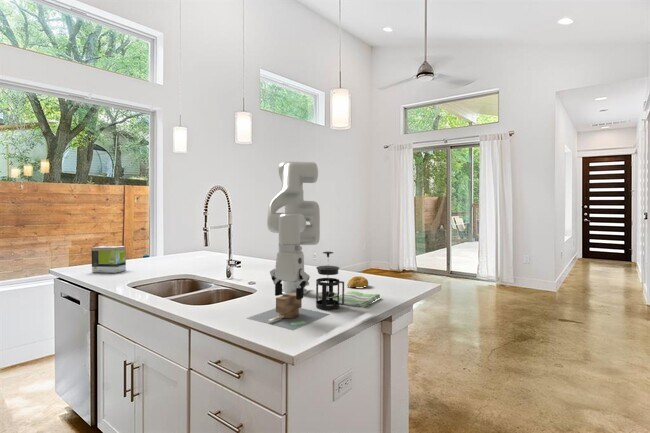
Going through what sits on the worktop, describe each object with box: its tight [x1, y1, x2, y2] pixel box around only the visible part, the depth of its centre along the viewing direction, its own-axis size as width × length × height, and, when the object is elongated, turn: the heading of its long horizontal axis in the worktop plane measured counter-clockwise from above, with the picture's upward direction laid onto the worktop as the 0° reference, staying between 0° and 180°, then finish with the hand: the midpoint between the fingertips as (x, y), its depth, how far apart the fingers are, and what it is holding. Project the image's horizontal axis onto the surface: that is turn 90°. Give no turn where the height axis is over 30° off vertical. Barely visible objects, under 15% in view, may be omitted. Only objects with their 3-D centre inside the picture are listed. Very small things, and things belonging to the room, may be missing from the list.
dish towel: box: [333, 290, 381, 309], centre depth 159 cm, size 17×23×4 cm
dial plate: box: [246, 307, 330, 331], centre depth 134 cm, size 21×21×2 cm
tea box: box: [90, 245, 127, 274], centre depth 221 cm, size 15×10×15 cm, turn 84°
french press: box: [315, 251, 345, 311], centre depth 145 cm, size 12×9×23 cm
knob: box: [268, 292, 303, 322], centre depth 132 cm, size 15×7×7 cm, turn 146°
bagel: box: [346, 275, 369, 287], centre depth 188 cm, size 10×11×5 cm
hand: (289, 297), depth 133 cm, fingers open, 9 cm apart
